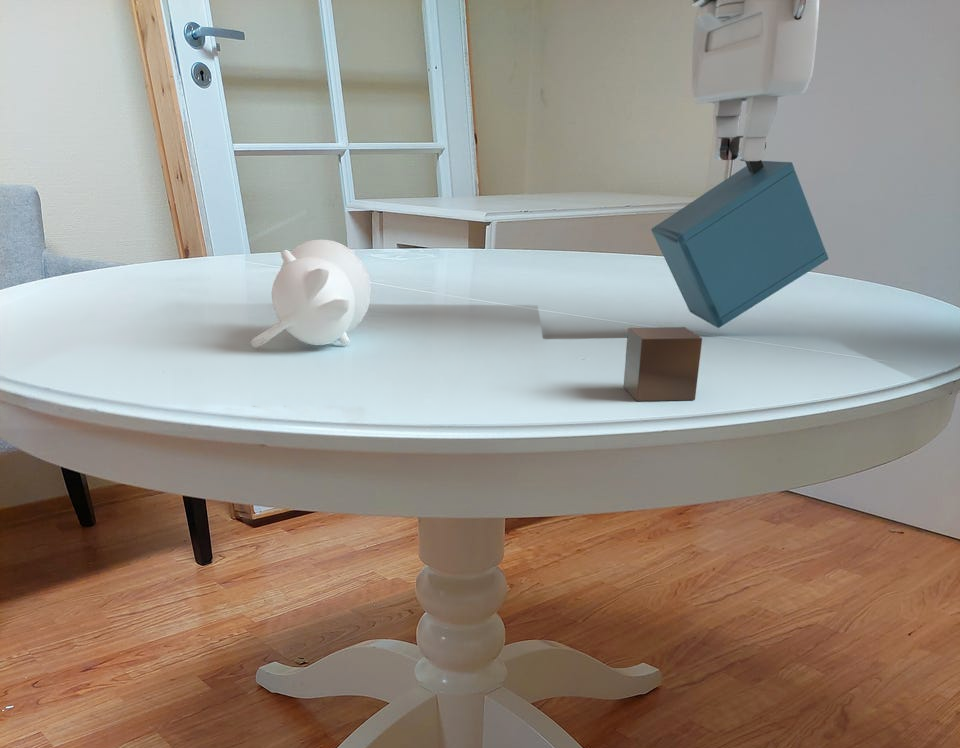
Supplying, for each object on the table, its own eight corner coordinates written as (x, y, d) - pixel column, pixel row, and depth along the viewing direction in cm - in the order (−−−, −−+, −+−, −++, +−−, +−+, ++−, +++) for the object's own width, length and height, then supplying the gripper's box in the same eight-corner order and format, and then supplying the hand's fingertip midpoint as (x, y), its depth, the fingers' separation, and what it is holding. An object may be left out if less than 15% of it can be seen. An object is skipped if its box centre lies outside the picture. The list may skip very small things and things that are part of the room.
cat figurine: (313, 226, 66) (337, 210, 77) (206, 306, 69) (243, 280, 80) (381, 328, 70) (395, 300, 80) (277, 400, 73) (303, 363, 83)
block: (678, 385, 63) (685, 326, 61) (695, 400, 59) (702, 338, 57) (623, 387, 62) (627, 327, 60) (636, 401, 59) (642, 338, 57)
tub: (690, 312, 89) (790, 248, 87) (718, 328, 81) (829, 259, 79) (636, 198, 83) (741, 127, 81) (661, 204, 76) (778, 125, 73)
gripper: (854, -59, 63) (820, 161, 70) (753, -14, 81) (734, 158, 88) (768, -59, 63) (742, 163, 69) (686, -14, 80) (671, 159, 87)
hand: (737, 160), depth 79 cm, fingers closed on tub, 5 cm apart
